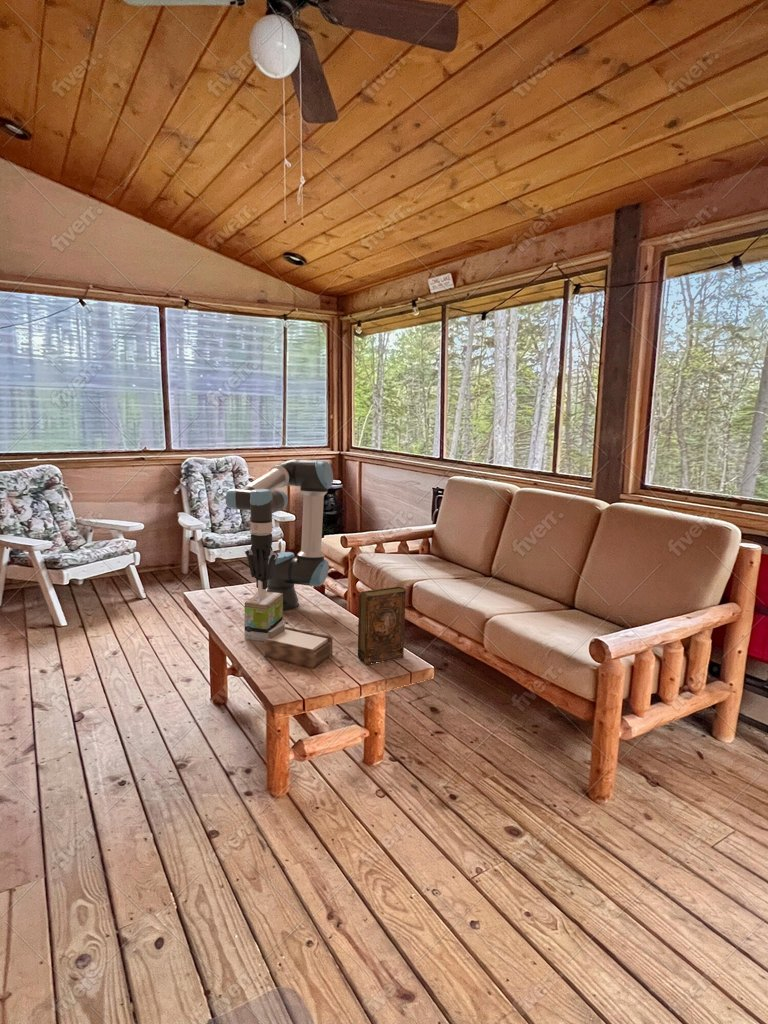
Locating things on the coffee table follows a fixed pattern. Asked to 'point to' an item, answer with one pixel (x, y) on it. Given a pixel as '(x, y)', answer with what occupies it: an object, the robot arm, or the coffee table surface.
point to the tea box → (263, 615)
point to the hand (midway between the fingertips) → (262, 597)
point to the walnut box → (298, 651)
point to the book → (381, 624)
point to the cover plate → (296, 638)
